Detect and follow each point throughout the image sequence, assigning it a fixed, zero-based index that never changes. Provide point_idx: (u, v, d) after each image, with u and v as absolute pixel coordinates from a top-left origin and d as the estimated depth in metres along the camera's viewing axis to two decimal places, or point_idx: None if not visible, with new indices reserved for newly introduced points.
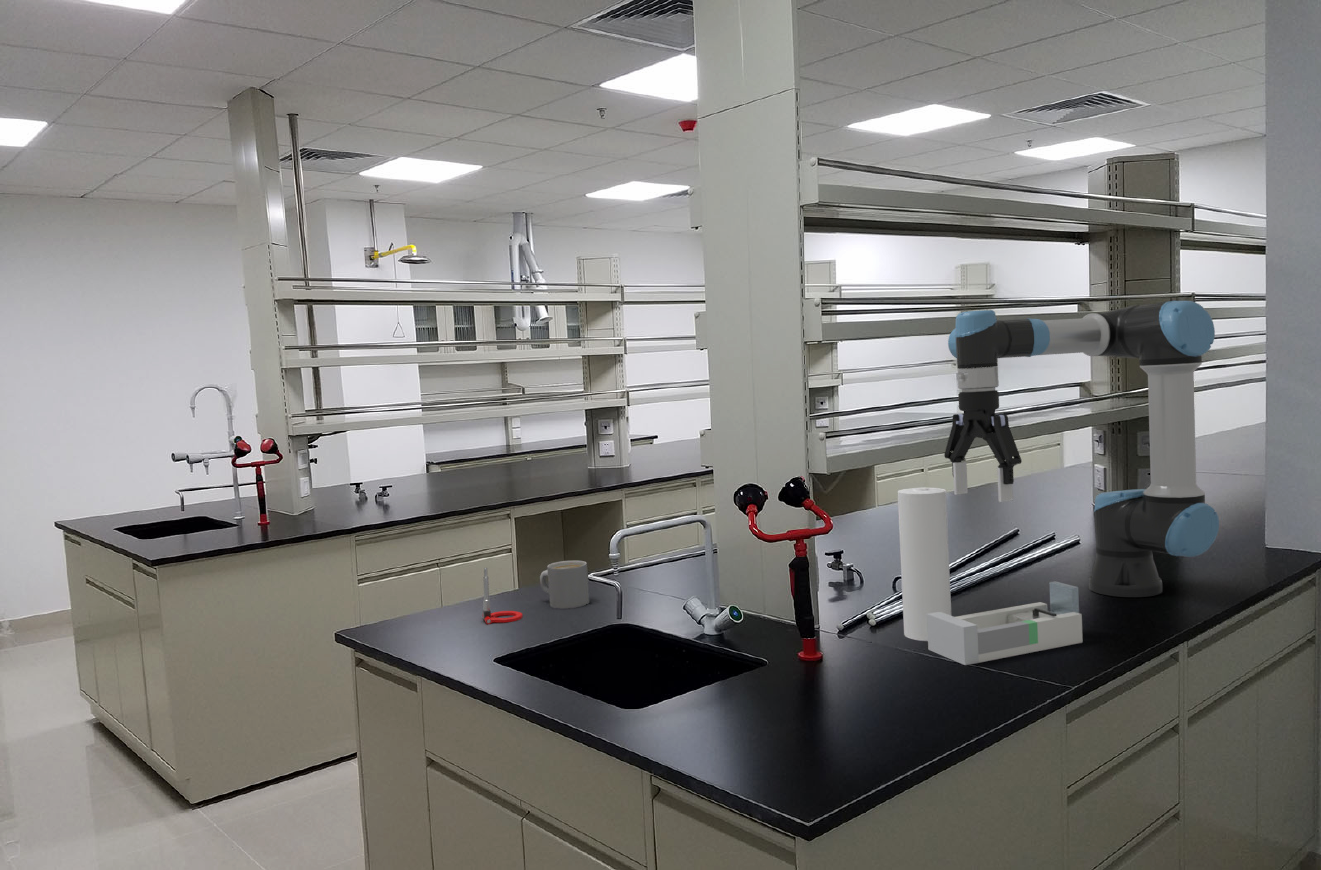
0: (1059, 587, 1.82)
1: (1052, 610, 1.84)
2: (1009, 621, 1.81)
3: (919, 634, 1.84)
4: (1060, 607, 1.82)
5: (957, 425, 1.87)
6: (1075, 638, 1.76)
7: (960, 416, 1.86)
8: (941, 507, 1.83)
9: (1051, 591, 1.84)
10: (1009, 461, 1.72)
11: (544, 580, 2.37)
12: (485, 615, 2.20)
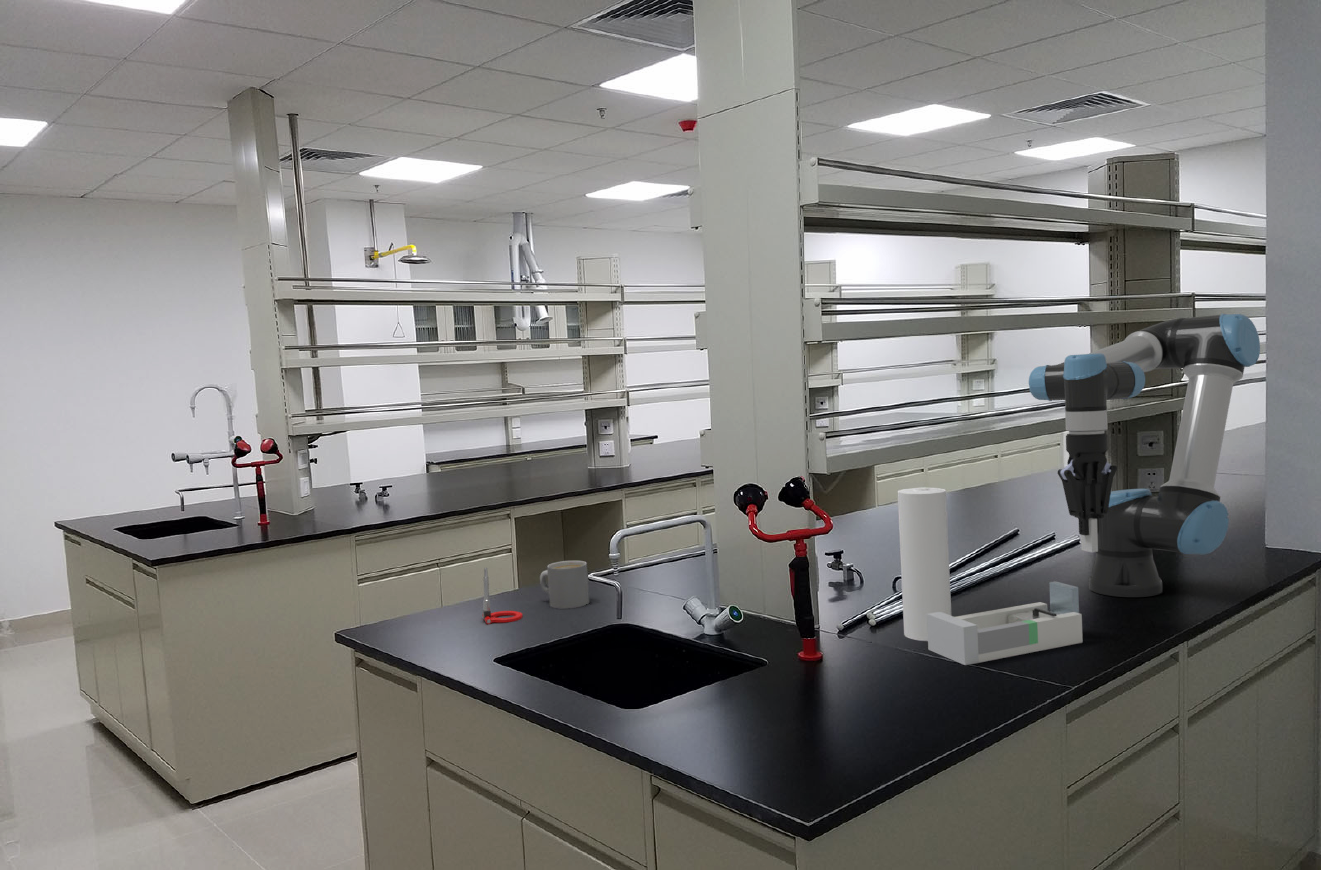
0: (1059, 587, 1.82)
1: (1052, 610, 1.84)
2: (1009, 621, 1.81)
3: (919, 634, 1.84)
4: (1060, 607, 1.82)
5: None
6: (1075, 638, 1.76)
7: None
8: (941, 507, 1.83)
9: (1051, 591, 1.84)
10: None
11: (544, 580, 2.37)
12: (485, 615, 2.20)
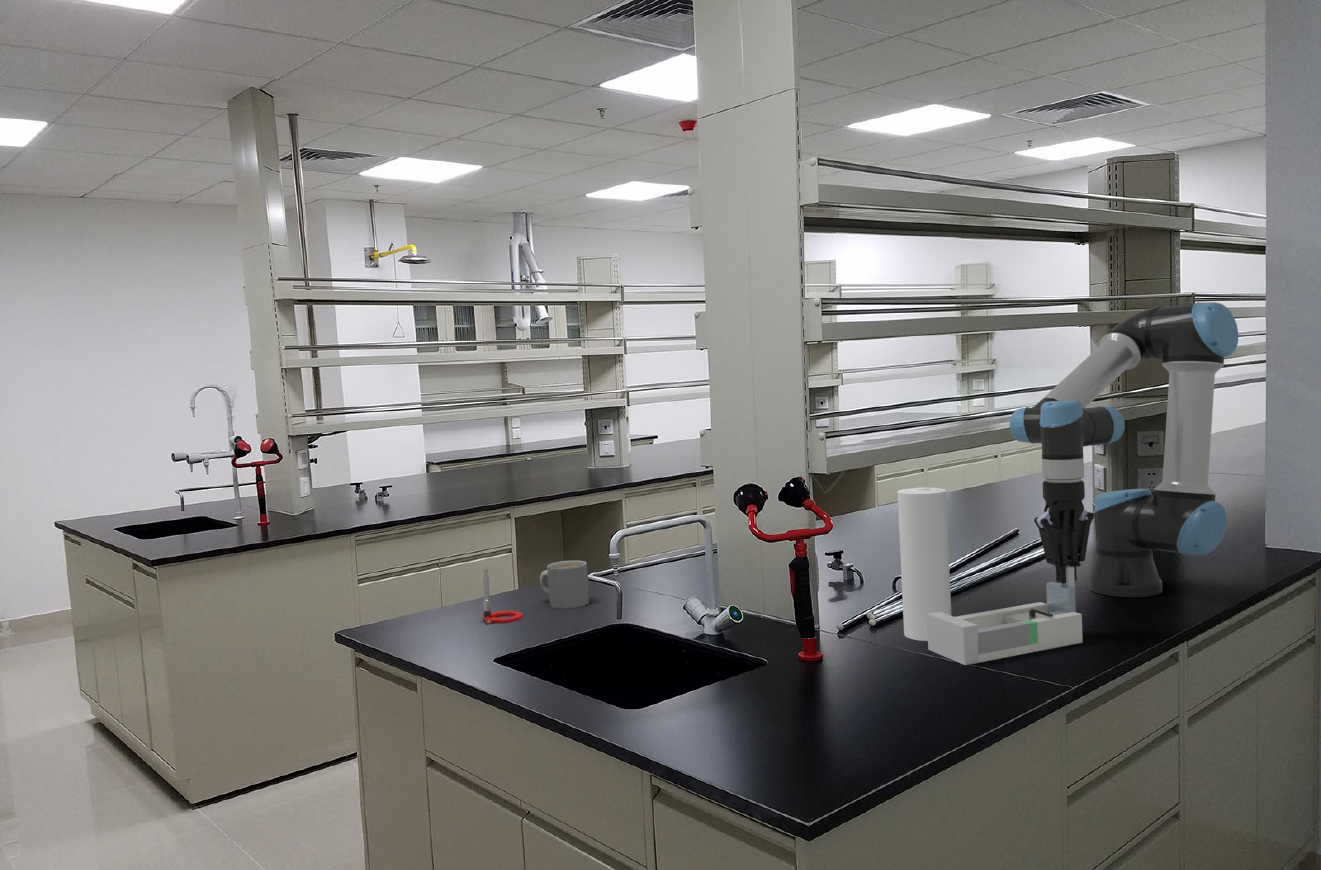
0: (1056, 588, 1.81)
1: (1049, 611, 1.84)
2: (1006, 622, 1.81)
3: (919, 634, 1.84)
4: (1057, 607, 1.81)
5: (1078, 520, 1.83)
6: (1075, 638, 1.76)
7: None
8: (941, 507, 1.83)
9: (1048, 591, 1.83)
10: None
11: (544, 580, 2.37)
12: (485, 615, 2.20)
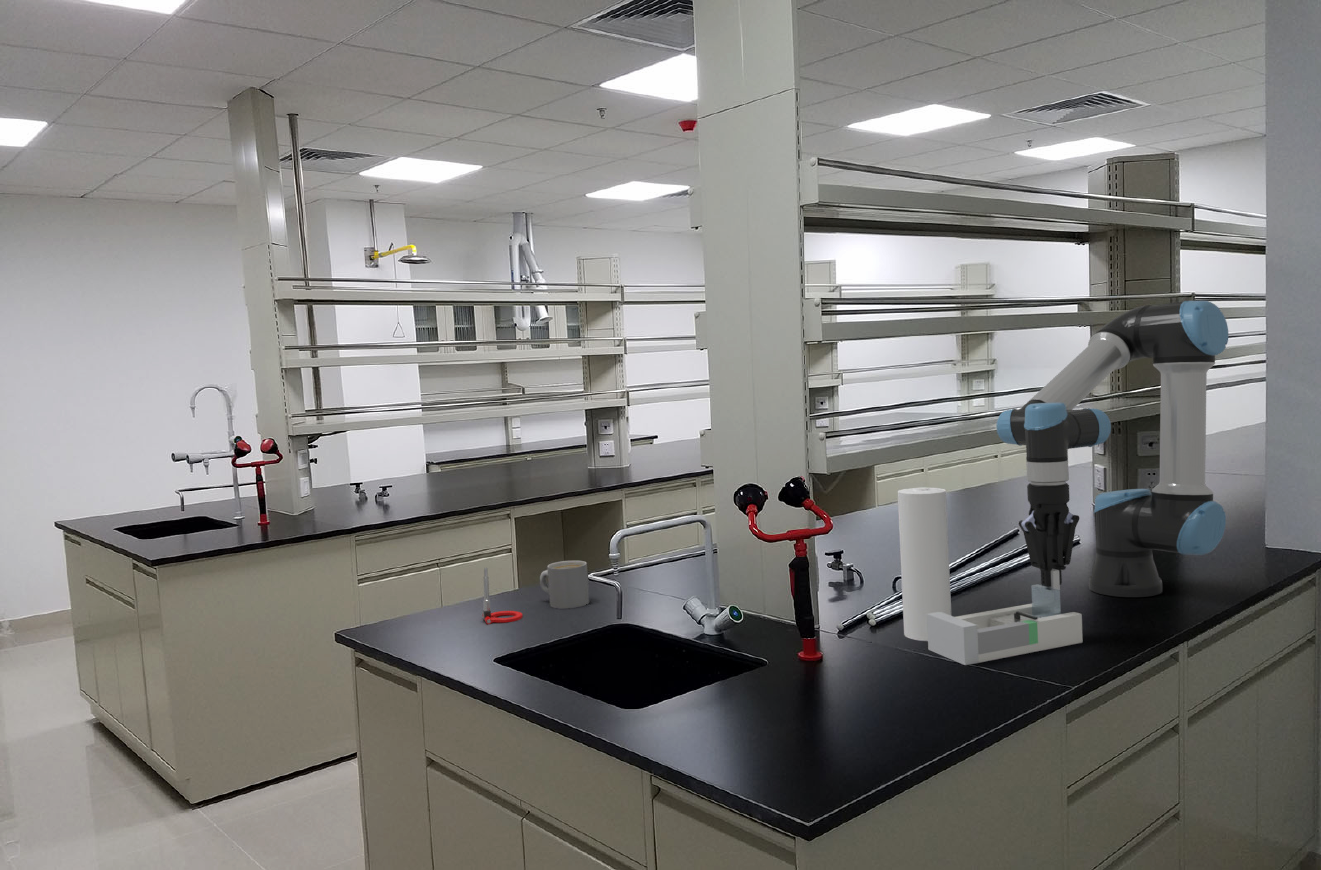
0: (1041, 590, 1.80)
1: (1034, 613, 1.82)
2: (990, 624, 1.79)
3: (919, 634, 1.84)
4: (1042, 610, 1.80)
5: (1063, 523, 1.82)
6: (1075, 638, 1.76)
7: None
8: (941, 507, 1.83)
9: (1033, 594, 1.82)
10: None
11: (544, 580, 2.37)
12: (485, 615, 2.20)
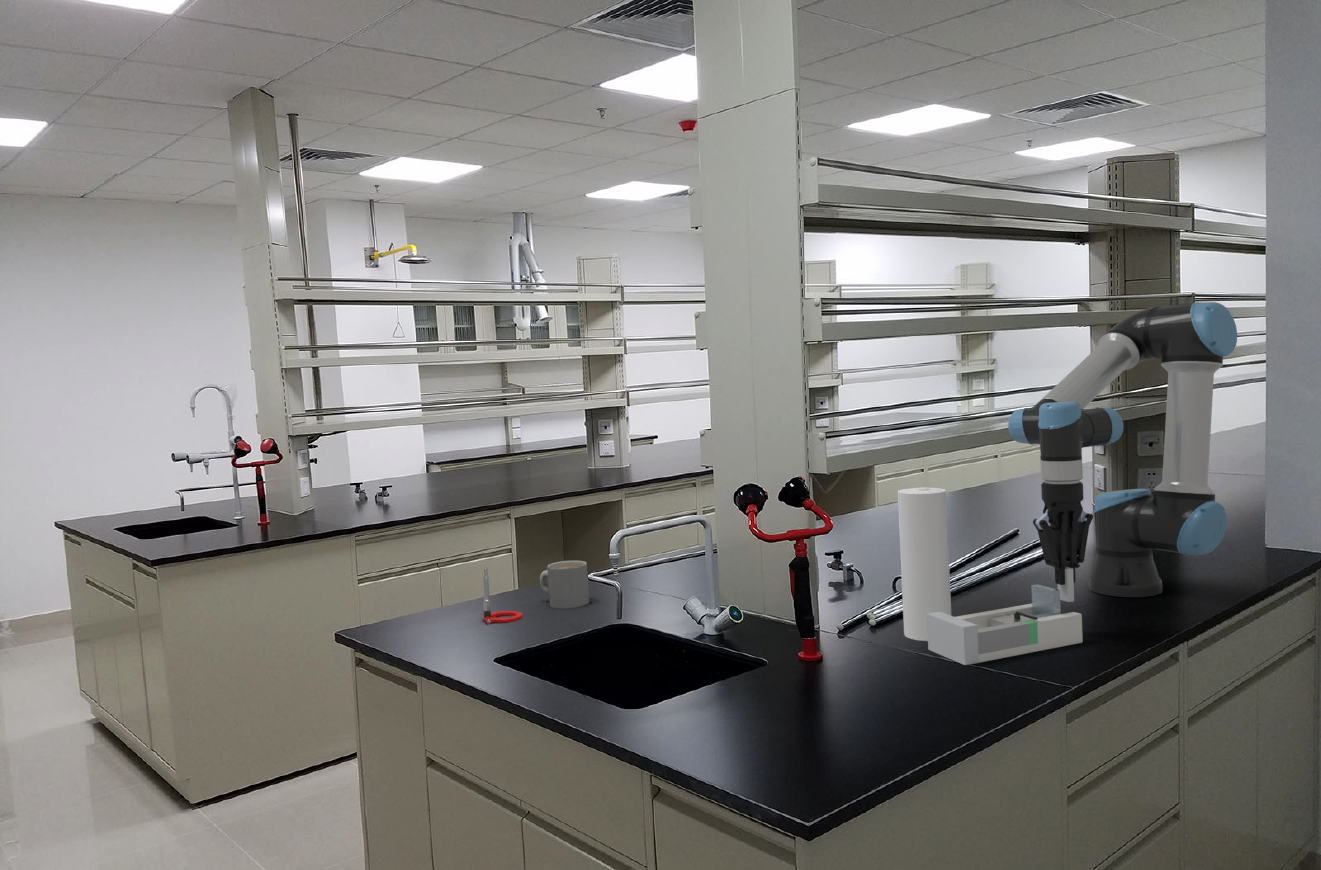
0: (1041, 590, 1.80)
1: (1034, 613, 1.82)
2: (990, 624, 1.79)
3: (919, 634, 1.84)
4: (1042, 610, 1.80)
5: (1077, 521, 1.83)
6: (1075, 638, 1.76)
7: None
8: (941, 507, 1.83)
9: (1033, 594, 1.82)
10: None
11: (544, 580, 2.37)
12: (485, 615, 2.20)
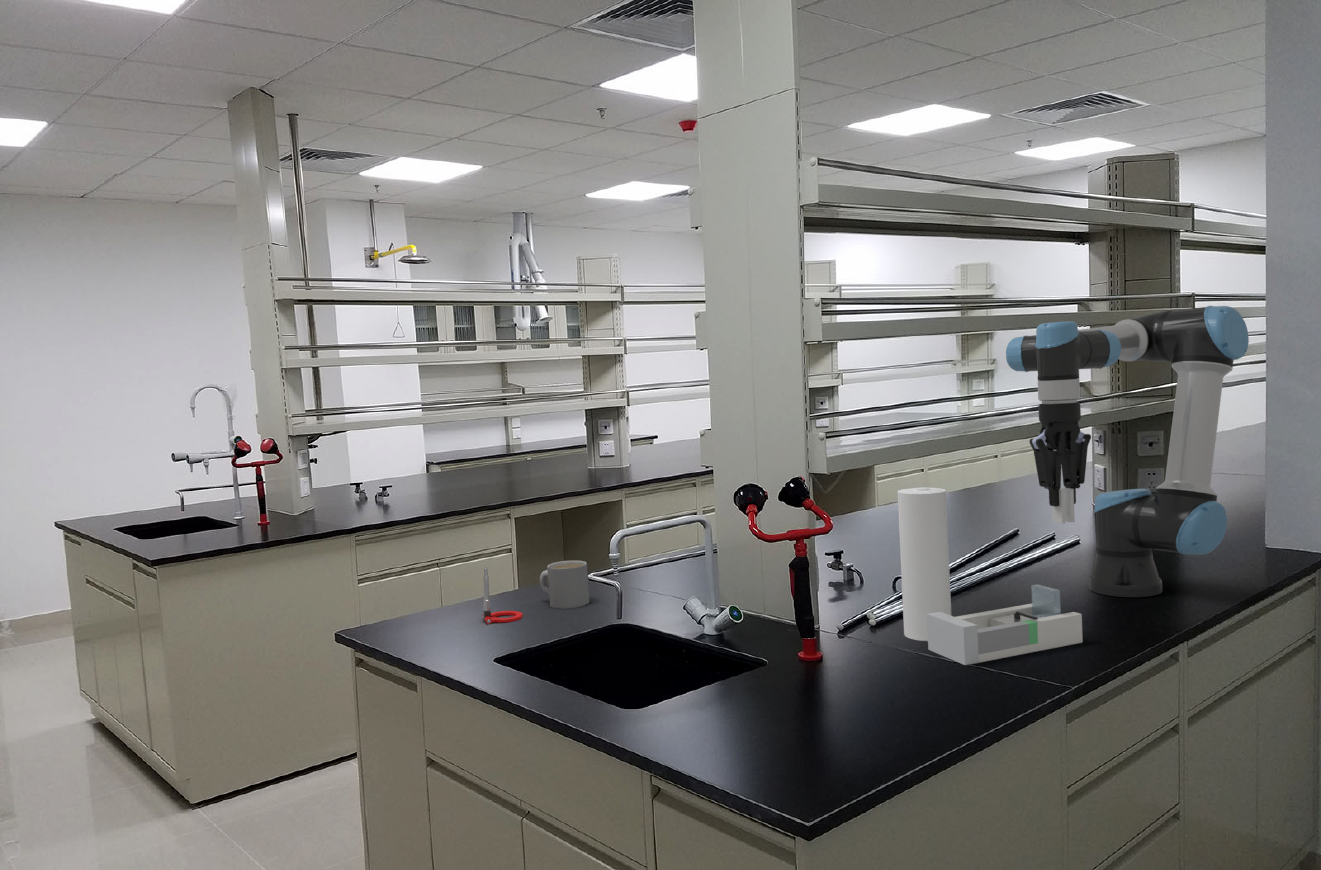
0: (1041, 590, 1.80)
1: (1034, 613, 1.82)
2: (990, 624, 1.79)
3: (919, 634, 1.84)
4: (1042, 610, 1.80)
5: (1075, 443, 1.82)
6: (1075, 638, 1.76)
7: None
8: (941, 507, 1.83)
9: (1033, 594, 1.82)
10: None
11: (544, 580, 2.37)
12: (485, 615, 2.20)
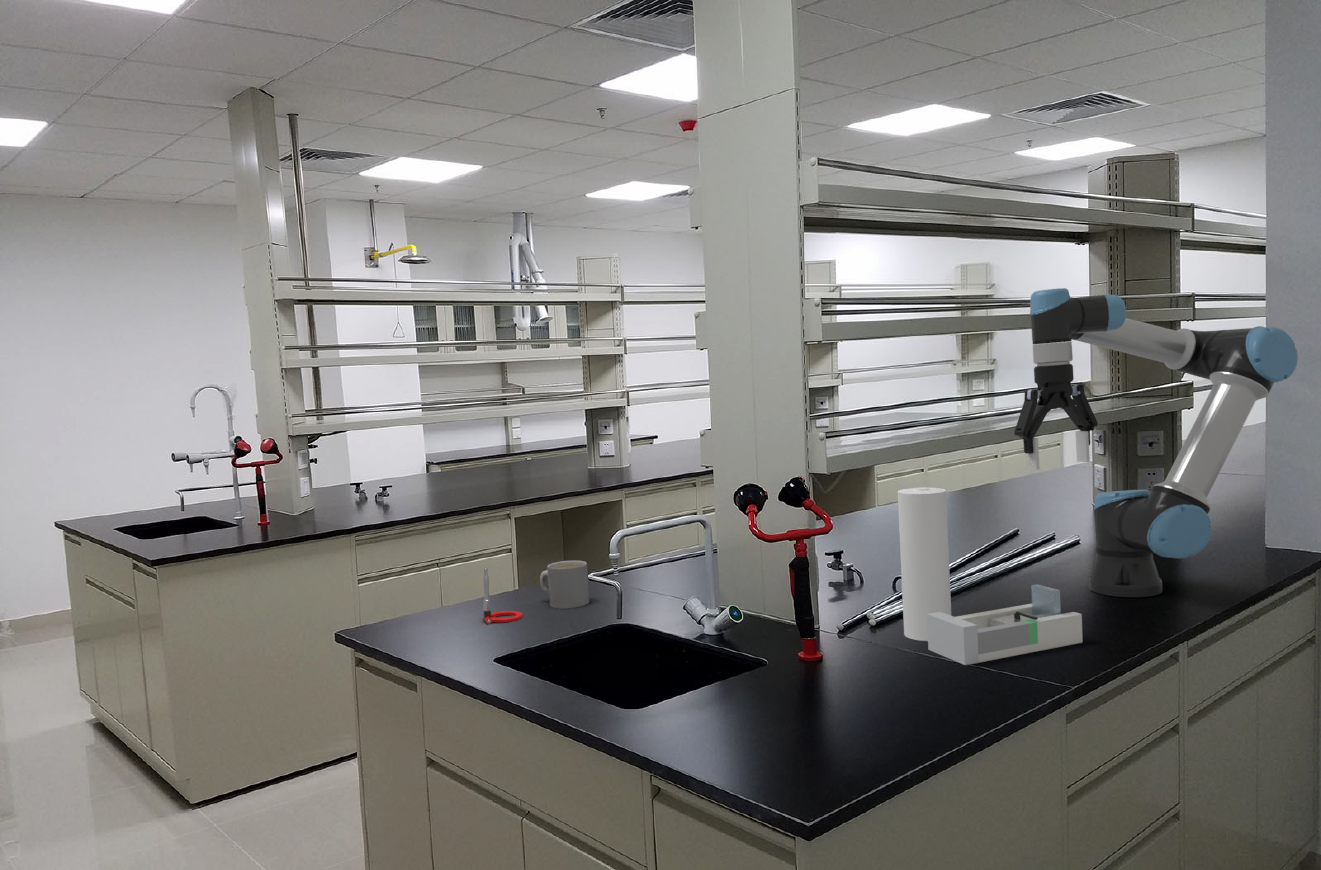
0: (1041, 590, 1.80)
1: (1034, 613, 1.82)
2: (990, 624, 1.79)
3: (919, 634, 1.84)
4: (1042, 610, 1.80)
5: (1073, 395, 1.95)
6: (1075, 638, 1.76)
7: None
8: (941, 507, 1.83)
9: (1033, 594, 1.82)
10: None
11: (544, 580, 2.37)
12: (485, 615, 2.20)
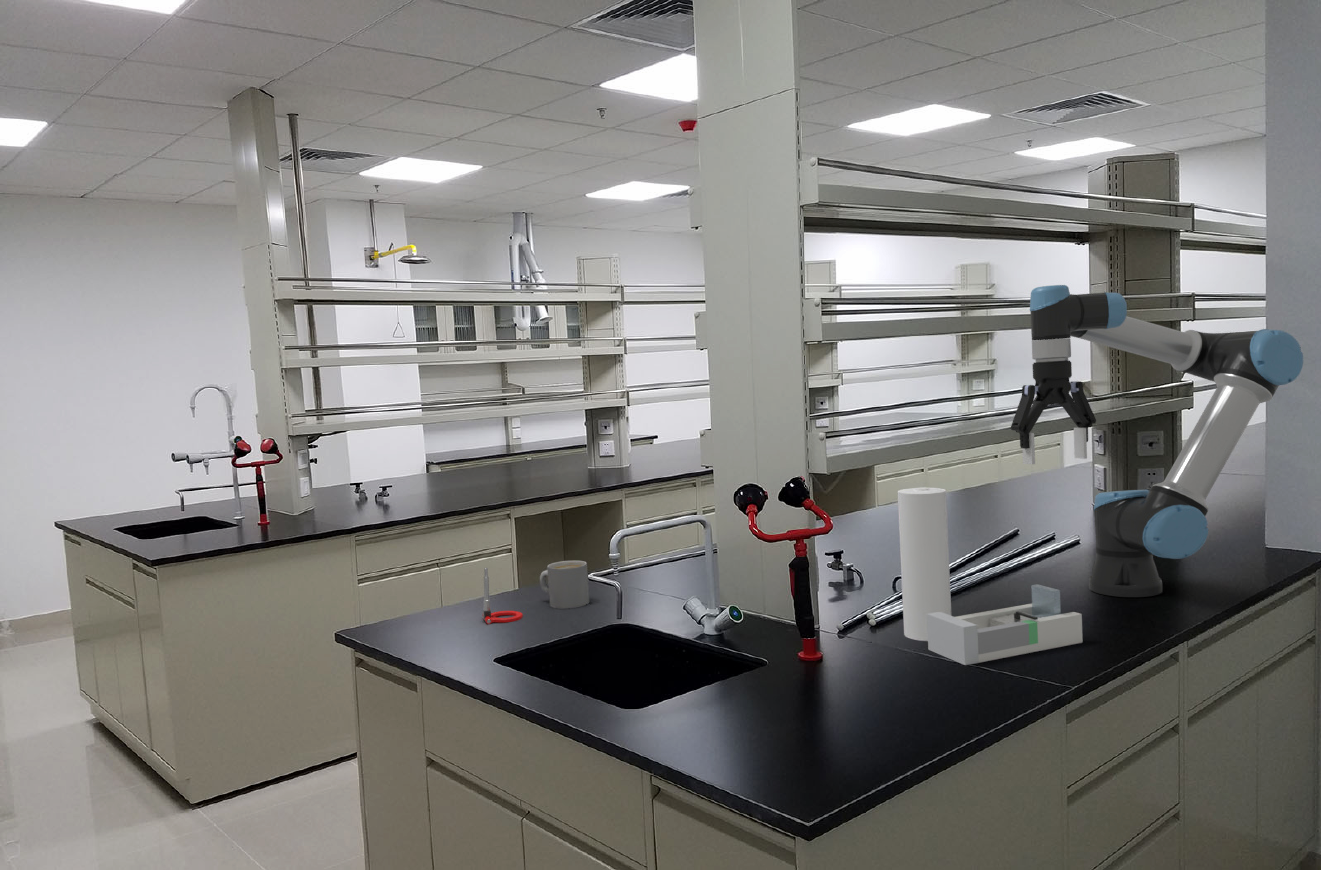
0: (1041, 590, 1.80)
1: (1034, 613, 1.82)
2: (990, 624, 1.79)
3: (919, 634, 1.84)
4: (1042, 610, 1.80)
5: (1071, 392, 1.97)
6: (1075, 638, 1.76)
7: None
8: (941, 507, 1.83)
9: (1033, 594, 1.82)
10: None
11: (544, 580, 2.37)
12: (485, 615, 2.20)
